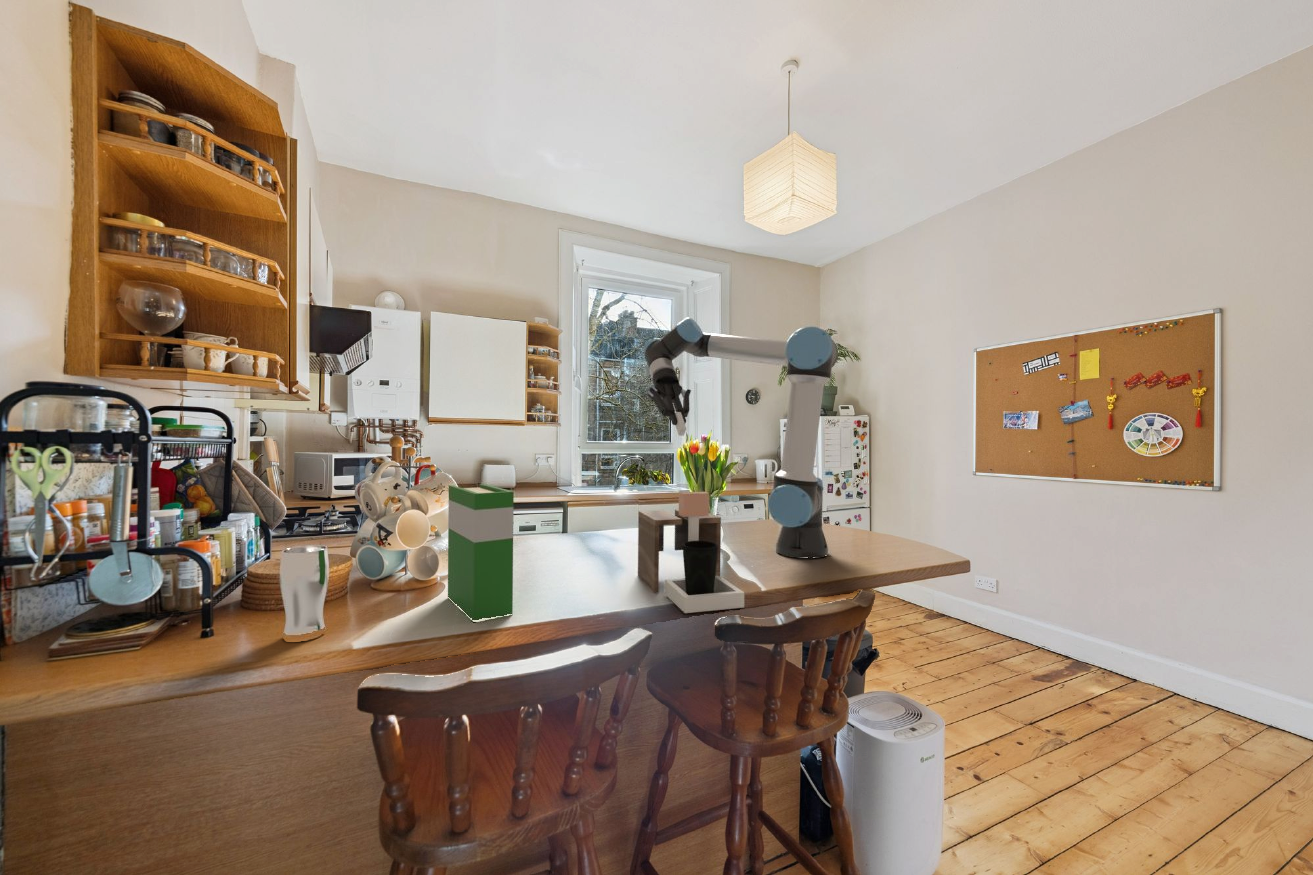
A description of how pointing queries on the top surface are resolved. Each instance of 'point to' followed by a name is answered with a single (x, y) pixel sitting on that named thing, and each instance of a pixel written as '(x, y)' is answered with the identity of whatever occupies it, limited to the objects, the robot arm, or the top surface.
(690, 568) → the cup
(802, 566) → the top surface
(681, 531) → the tunnel
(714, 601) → the slider
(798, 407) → the robot arm
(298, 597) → the beer glass
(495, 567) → the hardback book
